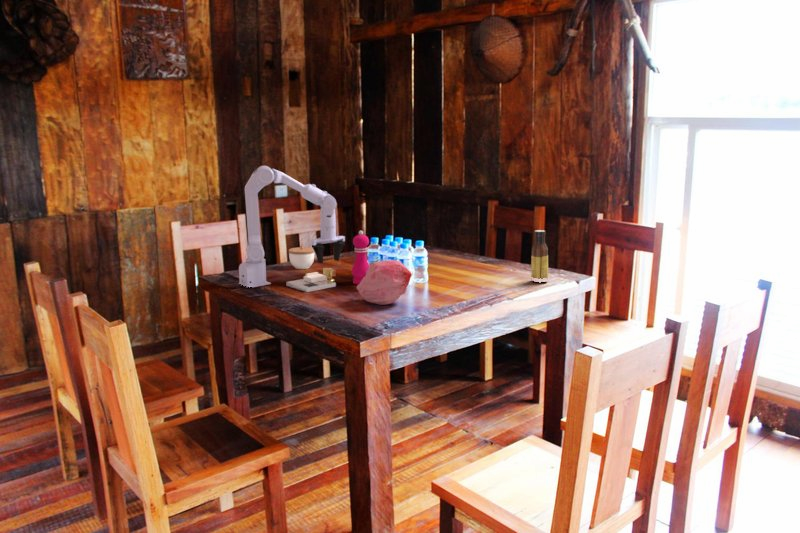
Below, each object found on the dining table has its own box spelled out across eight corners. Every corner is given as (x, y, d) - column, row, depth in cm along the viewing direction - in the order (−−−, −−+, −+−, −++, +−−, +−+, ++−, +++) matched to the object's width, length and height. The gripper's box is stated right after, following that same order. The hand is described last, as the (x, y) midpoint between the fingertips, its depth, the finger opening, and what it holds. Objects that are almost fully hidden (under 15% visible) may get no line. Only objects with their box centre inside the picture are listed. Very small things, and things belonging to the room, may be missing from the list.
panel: (306, 292, 245) (306, 288, 244) (286, 285, 254) (286, 281, 254) (335, 286, 253) (335, 282, 253) (315, 280, 263) (315, 276, 262)
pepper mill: (368, 285, 255) (367, 232, 251) (349, 284, 257) (348, 231, 253) (372, 281, 262) (372, 229, 258) (354, 280, 264) (354, 228, 260)
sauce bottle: (546, 280, 265) (549, 229, 261) (548, 284, 259) (551, 232, 254) (529, 279, 265) (531, 229, 261) (531, 283, 259) (533, 231, 255)
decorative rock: (419, 282, 236) (395, 246, 235) (420, 288, 222) (394, 249, 221) (374, 312, 238) (349, 276, 236) (372, 319, 223) (346, 281, 222)
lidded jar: (292, 271, 280) (291, 248, 278) (286, 266, 289) (285, 244, 287) (317, 269, 283) (317, 246, 282) (311, 264, 293) (310, 242, 291)
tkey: (320, 280, 264) (320, 268, 263) (328, 278, 266) (328, 266, 265) (330, 282, 259) (329, 270, 258) (338, 281, 262) (337, 269, 261)
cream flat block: (311, 282, 252) (311, 276, 252) (303, 280, 256) (303, 274, 256) (326, 279, 257) (326, 273, 257) (318, 277, 261) (318, 271, 260)
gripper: (318, 229, 251) (319, 265, 254) (349, 225, 260) (350, 260, 263) (307, 227, 256) (308, 262, 259) (338, 223, 266) (338, 258, 268)
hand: (328, 261), depth 261 cm, fingers open, 7 cm apart
